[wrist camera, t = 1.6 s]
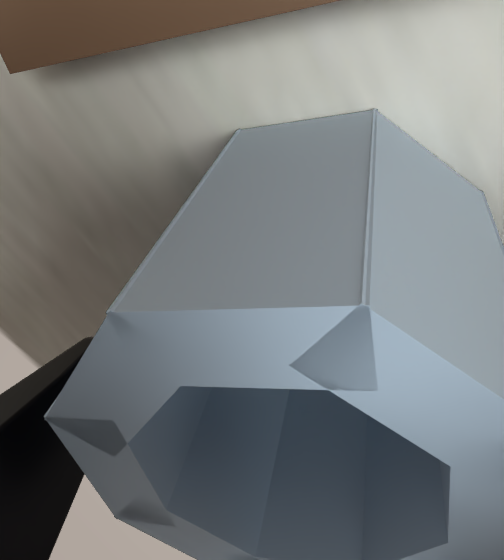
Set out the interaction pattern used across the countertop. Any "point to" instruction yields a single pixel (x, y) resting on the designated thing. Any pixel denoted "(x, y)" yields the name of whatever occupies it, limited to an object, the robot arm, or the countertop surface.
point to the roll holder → (115, 25)
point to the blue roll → (306, 358)
